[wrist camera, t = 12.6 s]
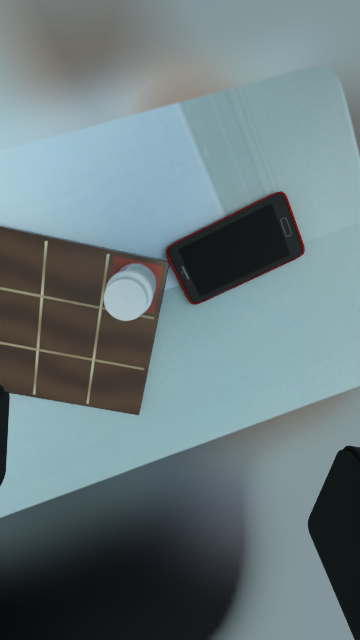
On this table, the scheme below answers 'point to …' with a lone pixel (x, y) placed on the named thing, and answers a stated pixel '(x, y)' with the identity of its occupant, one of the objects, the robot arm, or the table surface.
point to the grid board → (71, 323)
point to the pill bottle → (130, 292)
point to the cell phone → (236, 248)
